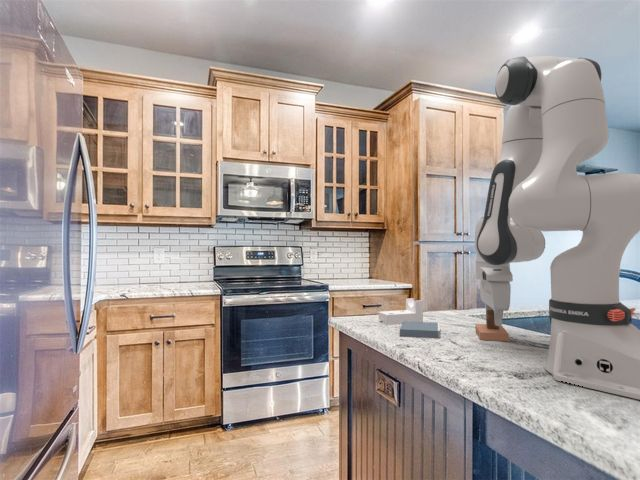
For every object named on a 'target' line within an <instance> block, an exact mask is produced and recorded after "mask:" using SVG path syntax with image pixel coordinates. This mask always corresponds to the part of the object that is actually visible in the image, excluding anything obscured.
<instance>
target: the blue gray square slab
mask: <svg viewBox="0 0 640 480" xmlns="http://www.w3.org/2000/svg"><path fill="white" fill-rule="evenodd" d="M399 337H409V338H411V337H412V338H424V339H425V338H428V339H429V338H430V339H441V324H440V322H439V321H438V322H429V321H428V322H427V321H423V322H406V321H403V323H402V324H400V327H399Z"/></svg>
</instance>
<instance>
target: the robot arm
mask: <svg viewBox="0 0 640 480" xmlns="http://www.w3.org/2000/svg"><path fill="white" fill-rule="evenodd" d="M601 81H602V69H601V66H600V64H599V63H598V62H597V61H595V60H593V59H590V58H587V57H578V58H575V57H568V56H554V55H538V56H537V55H535V56H530V57H526V56H517V57H514V58H513V57H512V58H510V59H508V60H506V61H505V62H504V63H503V64H502V65H501V66H500V68H499V70H498V73H497V76H496V80H495V87H494V88H495V95H496V97H497V99H498V100H499V102H500V103H502V104H505V105H509V106H510V107H508V110H507V112H506V117H505V120H504V124H503V125H504V126H503V129H502V130H503V131H502V142H501V151H500V156H499V160H498V163H497V164H496V165H495V166H494V169H493V170H492V173H491V177H490V180H489V181H490V182H489V186H488V192H487V197H486V203H485V208H484V213H483V214H484V215H483V216H482V217H481V218H479V219H478V220H477V222H476V224H475V228H474V229H475V230H474V248H475V249H474V250H475V251H476V257H475V279H476V280H480V289H479V291H480V293H479V295H480V300H481V302H483V303H484V308H485V311H486V310H494V324H495V325H496V326H502V327H503V317H504V312H508V311H510V310H509V309H510V306H511V291H512V290H511V288H512V287H511V286H512V285H511V282H513V278H514V277H513V273H512V271H511V265H510V264H511V263H512V264H513V263H523V262H530V261H535V260H537V259H539V258H541V256H542V255H543V254H544V252H545V249H546V239H545V235H544V234H543V232H568V231H569V232H570V231H571V232H572V231H573V232H574V231H580V232H582V236H581V240H580V241H579V243H578V244H577V245H575V246H573V247H571V248H568V249H567V250H565V251H563V252H561V253H558V255H556V256H555V257H554V258H553V259H552V261H551V263H550V268H549V269H550V292H551V293H550V295H551V297H550V299H549V300H548V317H549V321H550V337H549V346H548V352H547V356H546V359H545V362H544V367H543V368H544V369H545V370H546V371H547V372H548V373H550V374H551V375H552V376H553V377H552V378H553V379H554V380H555V381H558V382H561V381H563V382H562V383H565V382H567V383H566V384H569V383H571V385H574V384H575V386H578V385H579V386H580V387H582V386H583V388H588V389H592V390H595V391H600V392H605V393H609V394H612V395H618V396H622V397H626V398H632V399H634V400H638V401H639V400H640V329H639V328H638V327H637V326H635V325H633V323H632V321H633V315H636V314H637V313H636V310H637V309H636V308H635V307H632V308H629V307H627V306H626V305H624V304H623V303H622V302H621V301H620V272H621V271H620V270H621V262H622V259H623V256H624V253H625V250H626V249H627V247H628V245H629V244H630V242H631V241H632V240H633V239H634V237H636V236H637V234H638V233H639V232H640V174H639V173H628V172H627V173H626V172H612V173H610V172H609V173H597V174H593V173H592V174H578V172H577V168H578V167H577V166H578V165H579V164H582V163H583V162H586V161H588V160H590V159H591V158H593V157H595V156H596V155H598V154H599V153H600V152H602V150H603V149H605V147H606V146H607V144H608V140H609V128H608V119H607V108H606V101H605V95H604V89H603V85H602V83H601ZM579 386H578V387H579Z"/></svg>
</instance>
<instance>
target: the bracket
mask: <svg viewBox="0 0 640 480" xmlns="http://www.w3.org/2000/svg"><path fill="white" fill-rule="evenodd" d="M423 307H424V306H423V300H415V298H413V297H411V298H405V309H404V310H403V309H401V310H399V309H397V310H384V311H378V320H380V321H382V324H384V325H386V326H393V324H395V325H402V323H403V321H406V322H424V311H423V309H424V308H423Z"/></svg>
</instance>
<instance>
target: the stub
mask: <svg viewBox="0 0 640 480" xmlns="http://www.w3.org/2000/svg"><path fill="white" fill-rule="evenodd" d="M485 319H486V320H485V321H486V322H485V323H475V332H476V334H477V336H478V339H479V340H480V341H496V342H497V341H498V342H509V339H510V337H509V332H508V331H507V330H506V329H505V328H504V326H503V325H502V326H496V325H495V324H494V309H493V310H486V309H485Z"/></svg>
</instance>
